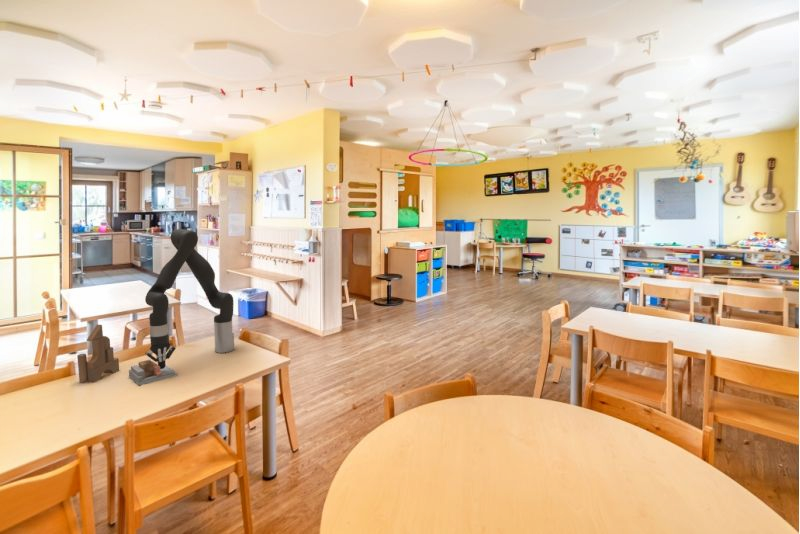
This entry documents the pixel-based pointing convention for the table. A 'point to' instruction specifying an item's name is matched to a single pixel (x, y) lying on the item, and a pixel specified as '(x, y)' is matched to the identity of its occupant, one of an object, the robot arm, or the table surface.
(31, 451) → the table surface
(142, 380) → the vise base
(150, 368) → the walnut block
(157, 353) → the robot arm
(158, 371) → the bar
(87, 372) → the wooden toy
